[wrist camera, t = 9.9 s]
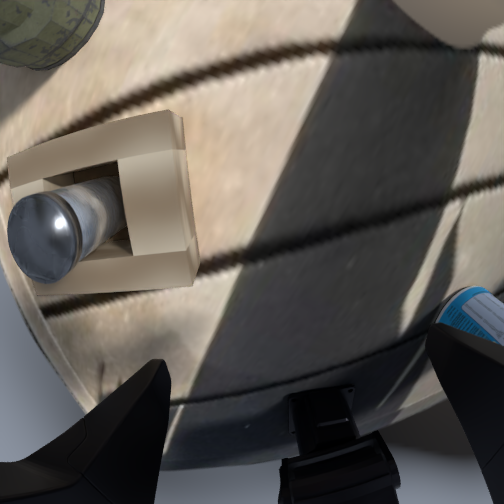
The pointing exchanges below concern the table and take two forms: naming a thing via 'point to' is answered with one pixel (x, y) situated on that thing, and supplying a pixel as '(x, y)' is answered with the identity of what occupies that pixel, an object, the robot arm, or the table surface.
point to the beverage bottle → (475, 314)
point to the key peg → (64, 226)
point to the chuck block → (134, 198)
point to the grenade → (45, 30)
